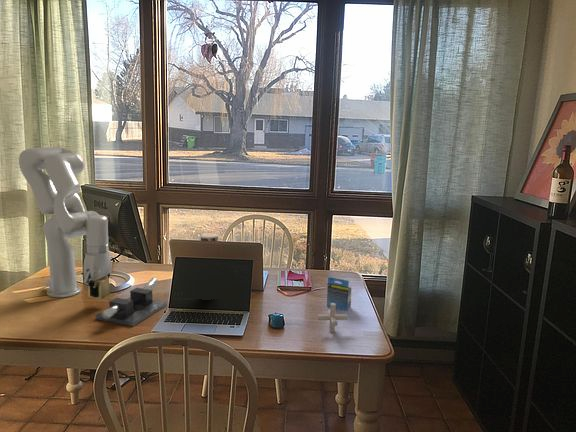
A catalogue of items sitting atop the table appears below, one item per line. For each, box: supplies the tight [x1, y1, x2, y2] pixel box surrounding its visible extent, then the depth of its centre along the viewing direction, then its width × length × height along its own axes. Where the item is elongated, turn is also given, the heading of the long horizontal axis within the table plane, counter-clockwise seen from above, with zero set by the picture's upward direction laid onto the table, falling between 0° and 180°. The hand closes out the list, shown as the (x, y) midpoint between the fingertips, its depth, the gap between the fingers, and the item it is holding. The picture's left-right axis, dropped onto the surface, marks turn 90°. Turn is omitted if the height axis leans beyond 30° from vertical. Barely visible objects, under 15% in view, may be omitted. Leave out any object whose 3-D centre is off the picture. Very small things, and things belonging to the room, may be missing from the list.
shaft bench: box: [95, 277, 167, 327], centre depth 175 cm, size 16×29×9 cm, turn 160°
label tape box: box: [326, 276, 352, 311], centre depth 184 cm, size 9×4×12 cm, turn 62°
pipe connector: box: [317, 303, 348, 333], centre depth 163 cm, size 10×10×10 cm
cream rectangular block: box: [87, 277, 110, 300], centre depth 179 cm, size 4×6×7 cm
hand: (98, 293), depth 180 cm, fingers closed on cream rectangular block, 4 cm apart
